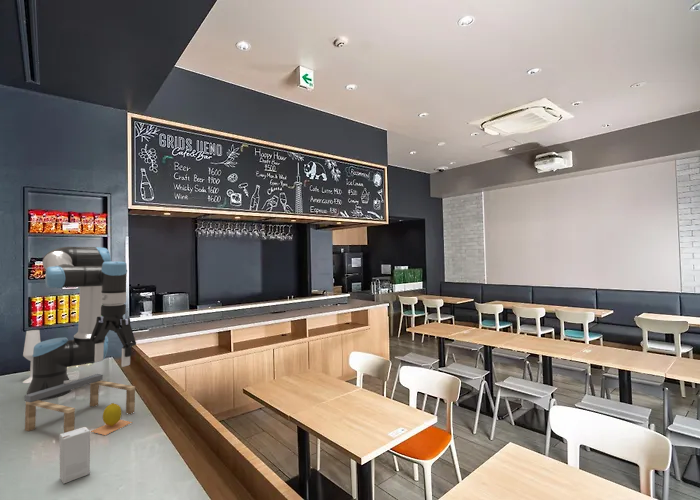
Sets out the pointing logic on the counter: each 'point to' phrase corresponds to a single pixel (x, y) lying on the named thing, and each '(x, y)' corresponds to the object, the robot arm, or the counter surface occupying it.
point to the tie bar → (62, 387)
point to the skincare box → (74, 454)
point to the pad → (111, 427)
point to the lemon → (112, 414)
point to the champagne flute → (30, 349)
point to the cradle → (70, 412)
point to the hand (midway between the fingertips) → (112, 363)
